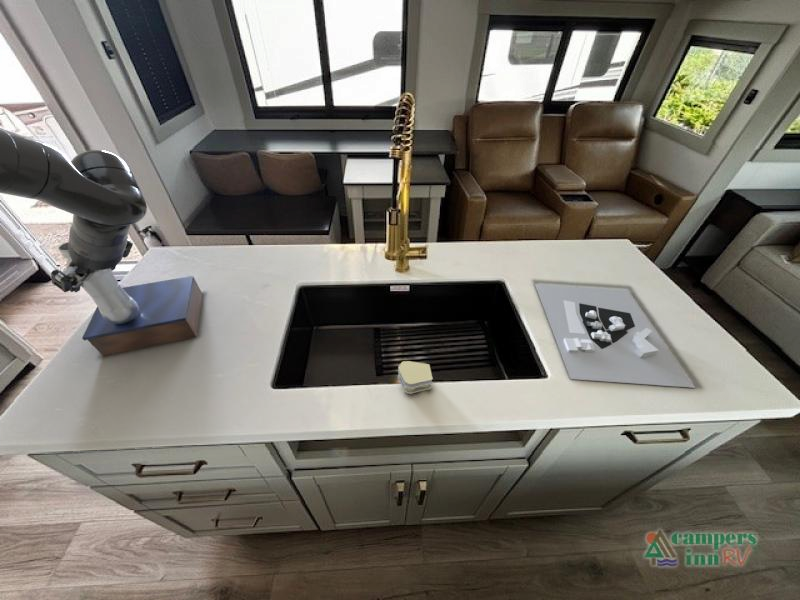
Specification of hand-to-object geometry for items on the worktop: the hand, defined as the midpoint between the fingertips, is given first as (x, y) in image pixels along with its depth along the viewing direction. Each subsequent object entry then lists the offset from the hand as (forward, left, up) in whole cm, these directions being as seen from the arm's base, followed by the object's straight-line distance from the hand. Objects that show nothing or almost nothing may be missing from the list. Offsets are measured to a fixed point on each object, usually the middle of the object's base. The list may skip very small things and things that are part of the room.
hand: (91, 277), depth 69 cm
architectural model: (+117, -34, -19) cm, 123 cm away
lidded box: (+4, +3, -19) cm, 20 cm away
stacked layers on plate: (+61, -35, -19) cm, 73 cm away
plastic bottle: (+1, -1, -12) cm, 12 cm away
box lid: (+4, +3, -12) cm, 13 cm away
